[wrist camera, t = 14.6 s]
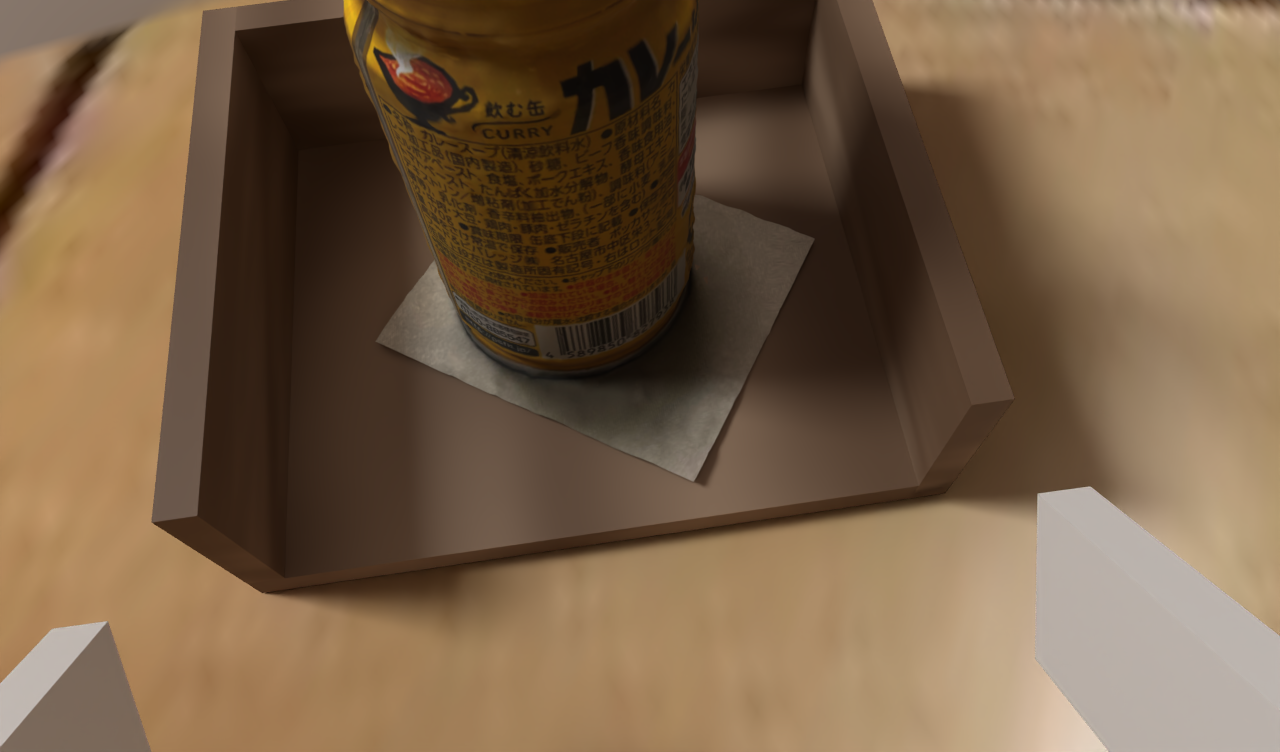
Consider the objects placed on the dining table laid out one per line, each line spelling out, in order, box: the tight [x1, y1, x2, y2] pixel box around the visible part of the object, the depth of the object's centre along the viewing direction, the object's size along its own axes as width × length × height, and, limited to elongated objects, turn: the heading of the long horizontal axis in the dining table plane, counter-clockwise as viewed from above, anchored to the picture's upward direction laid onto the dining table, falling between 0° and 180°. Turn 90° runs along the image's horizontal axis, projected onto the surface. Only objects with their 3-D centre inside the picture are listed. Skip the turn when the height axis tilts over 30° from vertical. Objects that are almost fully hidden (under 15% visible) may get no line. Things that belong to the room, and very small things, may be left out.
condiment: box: [343, 0, 814, 482], centre depth 18 cm, size 7×8×12 cm
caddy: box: [152, 0, 1015, 593], centre depth 22 cm, size 16×13×5 cm
